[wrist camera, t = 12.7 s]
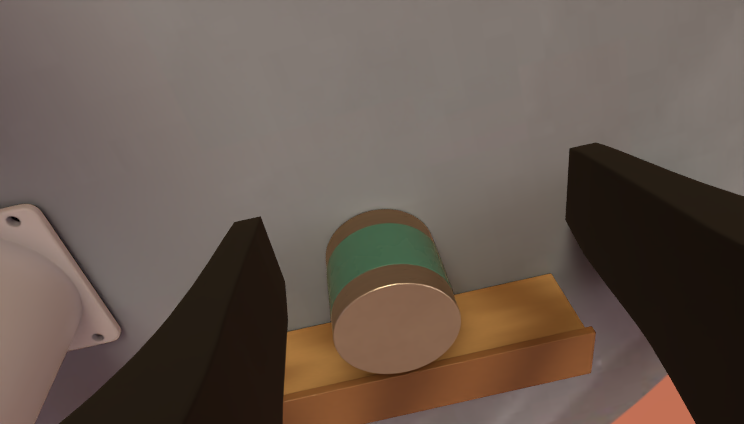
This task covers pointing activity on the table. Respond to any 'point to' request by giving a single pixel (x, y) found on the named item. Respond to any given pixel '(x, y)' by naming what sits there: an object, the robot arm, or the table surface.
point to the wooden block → (445, 359)
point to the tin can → (389, 293)
